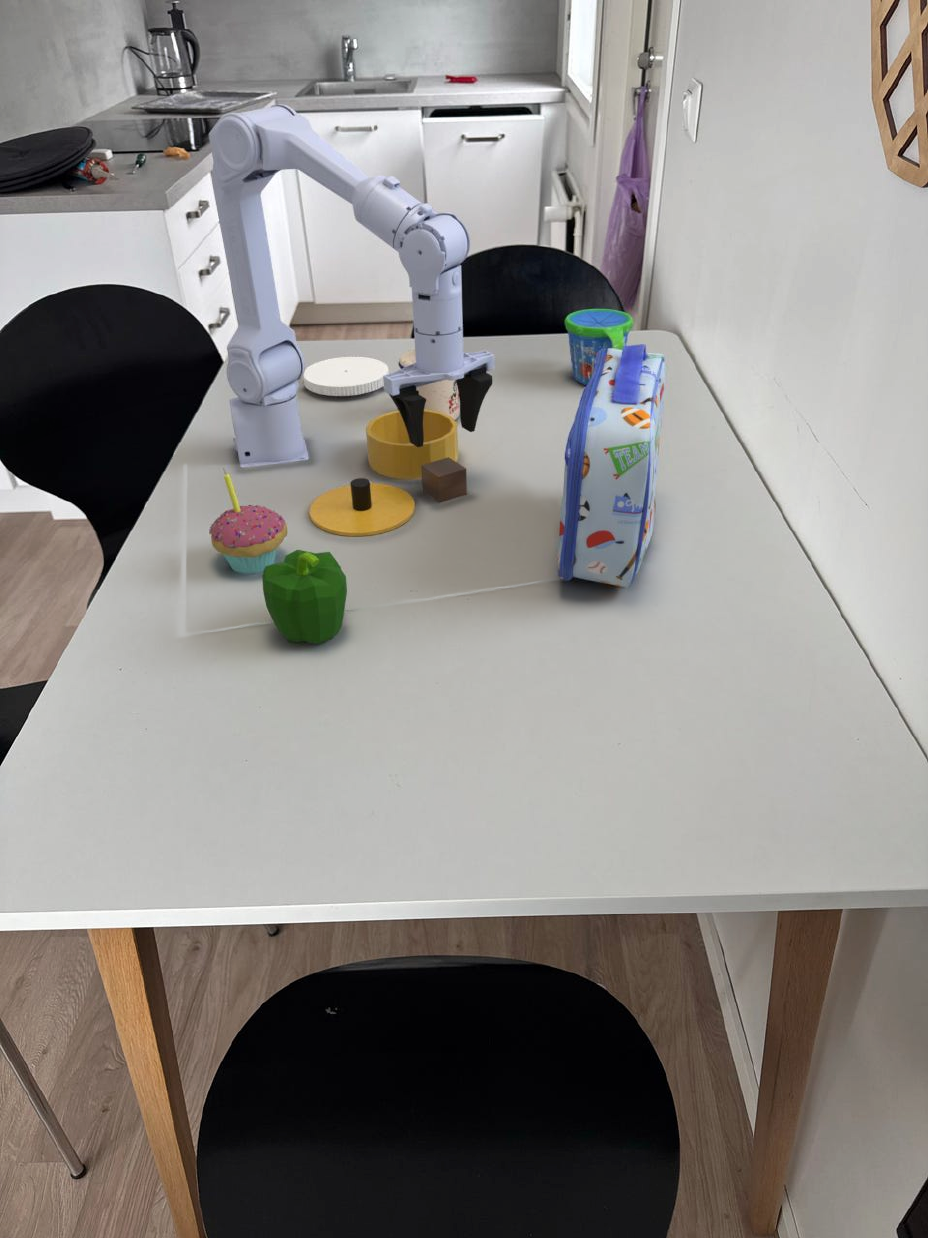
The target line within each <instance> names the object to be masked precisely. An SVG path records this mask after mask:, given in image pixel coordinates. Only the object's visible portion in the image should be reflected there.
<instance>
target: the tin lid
mask: <svg viewBox="0 0 928 1238" xmlns="http://www.w3.org/2000/svg"><path fill="white" fill-rule="evenodd" d="M415 511H416V502H415V500H414V498H413V496H412V495H411V494H410V493H409V492H407V491H406V490H404V489H402V488H399V487H397V486H394V485H389V484H384V483H375V482H374V483H373V482H371V480H369V479H368V478H365V477H364V478H363V477H358V478H354V479H352V480H351V481H350V484H347V485H342V486H339V487H336V488H333V489H331V490H328V491H326V492H324V493H322V494H320V495H319V496H317V498H316V499H315V500H313V502H312V503H311V504H310V507H309V518H310V521H311V522H312V523H313V525H315V526H316V527H317V528H318V529H320V530H322V531H324V532H327V533H329V534H334V535H338V536H345V537H365V536H366V537H367V536H373V535H374V536H375V535H379V534H383V533H387V532H391V531H393V530H395V529H398V528H400V527H401V526H403V525H404V524H406V523H407V522H409V521H410V520H411V518H412V517H413V516H414V514H415Z"/></svg>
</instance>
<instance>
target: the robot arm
mask: <svg viewBox="0 0 928 1238" xmlns="http://www.w3.org/2000/svg"><path fill="white" fill-rule="evenodd" d="M208 140H209V145H210V151H211V155H212V161H213V163H212V171H211V172H212V173H211V182H212V183H211V184H212V188H213V193H214V199H215V205H216V211H217V215H218V221H219V226H220V232H221V237H222V243H223V248H224V254H225V258H226V264H227V269H228V275H229V281H230V286H231V291H232V296H233V301H234V302H233V303H234V307H235V312H236V318H237V323H238V325H237V328H236V329H235V331H234V333H233V335H232V336H231V338H230V340H229V342H228V343H227V346H226V349H227V350H226V352H227V357H228V359H227V365H226V378H227V382H228V385H229V387H230V389H231V390H232V391H233V393H234V394H235V395H236V396H237V397H233V398H229V407H230V413H231V421H232V427H233V433H234V438H233V445H234V446H233V447H234V451H235V452H237V455H238V462H239V467H240V468H242V469H243V468H251V467H259V466H268V465H269V466H270V465H274V464H275V465H276V464H277V465H278V464H284V463H294V462H302V461H308V460H309V459H310V457H309V451H308V448H307V443H306V440H305V438H304V437H303V433H302V432H303V431H302V424H301V423H302V422H301V416H300V409H299V401H298V392H297V390H299V389H300V385H299V383H300V382H299V381H300V380H301V379H302V378H303V374H304V371H305V369H306V361H305V357H304V355H303V352H302V351H301V348H300V346H299V345H298V342H297V338H296V337H297V336H296V332H295V330H294V329H292V328H291V327H290V326H289V325H287V324H286V323H284V322H283V321H282V320H281V314H280V307H279V301H278V295H277V288H276V282H275V277H274V270H273V269H274V268H273V264H272V258H271V252H270V245H269V239H268V232H267V226H266V221H265V214H264V207H263V200H262V196H261V195H262V192H263V191H264V189H265V188H266V187H267V186H268V184H269V182H271V180H272V179H273V178H274V176H275V175H276V174H278V173H279V172H281V171H284V170H297V171H300V172H301V173H303V174H304V175H306V176H307V177H309V178H311V179H312V180H313V181H315V182H317V183H318V184H320V185H322V187H325V188H326V189H328V190H329V191H330V192H332V193H334V194H335V195H337V196H338V197H340V198H341V199H343V200H344V201H346V202H347V203H349V204H351V205H352V210H353V215H354V219H355V221H356V222H357V223H358V224H360V225H362V226H363V227H364V228H365V229H367V230H368V231H369V232H371V234H373V235H375V236H376V237H377V238H379V239H380V240H382V242H384V243H386V244H387V246H389V247H391V248H392V249H393V250H394V251H396V252H397V253H398V257H399V260H400V262H401V265H402V267H403V269H404V270H405V271H406V273H407V275H408V281H409V288H411V298H412V299H411V302H412V317H413V320H412V321H413V336H414V338H413V339H414V349H415V358H416V362H415V363H413V364H411V365H409V366H406V367H404V368H402V369H398V370H395V371H393V372H389V374H387V375H383V382H384V386H383V391H384V392H385V393H387V394H388V395H389V397H390V398H391V401H393V403H394V405H395V407H396V408H397V411H399V412H400V414H401V416H402V419H403V421H404V424H405V426H406V429H407V432H408V436H409V440H410V443H409V444H413V445H415V446H416V447H422V446H423V442H424V434H423V414H424V407H425V403H426V398H424V397H422V396H421V395H419V391H417V390H416V387H420V386H423V385H427V384H431V383H435V382H439V381H443V380H450V381H454V380H456V382H457V387H458V392H459V409H460V413H459V418H460V424H461V428H462V429H464V430H466V431H467V432H469V433H473V432H475V431H476V426H477V422H478V418H479V414H480V411H481V408H482V405H483V402H484V399H485V398H486V395H487V394H488V392H489V390H490V388H491V387H492V386H493V375H492V374H489V373H488V372H491V371H494V370H495V354H494V353H492V352H490V351H488V350H486V349H485V350H480V351H474V352H465V353H464V327H463V326H464V324H463V286H462V285H463V284H462V282H463V281H462V280H463V279H462V265H461V264H462V263H464V261H465V260H466V258H467V257H468V255H469V253H470V249H471V239H470V238H471V237H470V233H469V231H468V229H467V227H466V225H465V224H464V223H463V221H461V219H459V217H458V216H457V215H456V213H454V212H450V211H442V212H441V211H440V212H436V211H434V208H433V207H432V206H431V205H430V204H429V203H422V202H421V201H420V200H419V199H416V198H415V197H414V196H413V195H411V194H410V193H409V192H407V191H406V190H404V189H403V188H402V187H401V186H400V185H401V181H400V180H399V179H398V178H397V177H395V176H393V175H390V176H385V175H383V174H380V175H375V176H372V177H369V176H367V174H366V173H364V172H363V171H362V170H361V169H359V167H357V166H356V165H355V164H354V163H352V162H351V161H350V160H349V159H348V158H346V156H344V155H343V154H342V153H340V152H339V151H338V150H337V149H336V148H335V147H334V146H332V145H331V144H330V143H329V142H328V141H327V140H325V139H324V138H323V137H322V136H320V135H319V134H318V133H317V132H316V131H315V130H314V129H313V128H312V125H311V123H310V120H309V119H308V118H307V117H305V116H303V115H301V114H298V113H297V111H296V110H294V109H293V108H292V107H290V106H289V105H287V104H283V103H278V104H274V105H271V106H269V107H263V108H258V109H253V110H248V111H242V112H228V113H225V114H223V115H222V116H221V117H220V118H219V119H218V121H217V122H216V123H215V124H214V126H213V127H212V129H210V131H209V133H208Z"/></svg>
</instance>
